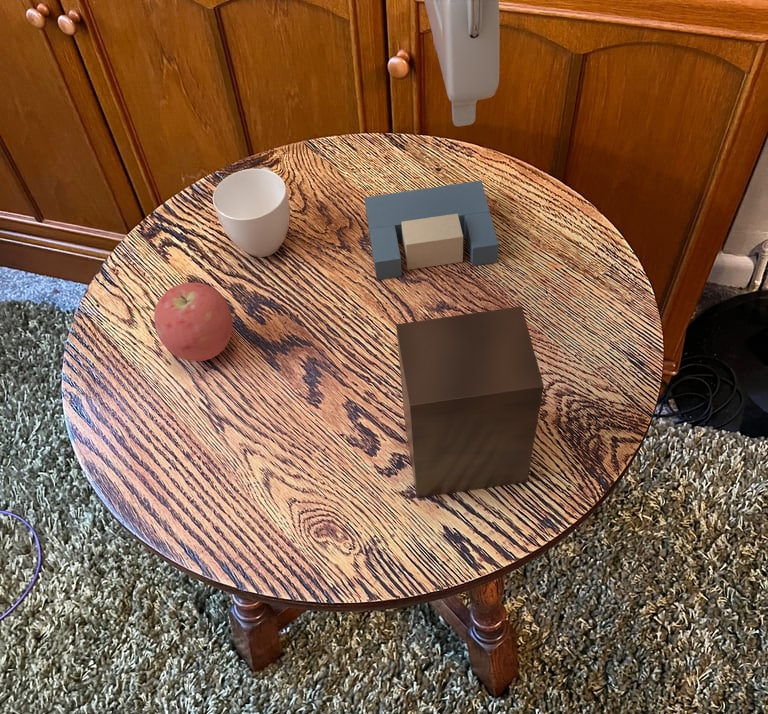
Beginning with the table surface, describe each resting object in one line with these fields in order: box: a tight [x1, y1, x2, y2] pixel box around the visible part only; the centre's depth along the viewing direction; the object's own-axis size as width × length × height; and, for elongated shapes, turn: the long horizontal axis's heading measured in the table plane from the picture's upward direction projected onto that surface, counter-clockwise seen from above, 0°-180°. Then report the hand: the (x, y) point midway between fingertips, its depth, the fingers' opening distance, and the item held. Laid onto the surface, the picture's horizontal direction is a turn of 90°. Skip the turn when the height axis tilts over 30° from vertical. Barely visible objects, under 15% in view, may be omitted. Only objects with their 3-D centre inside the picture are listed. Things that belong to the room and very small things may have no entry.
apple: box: [153, 282, 234, 362], centre depth 76 cm, size 7×7×8 cm
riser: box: [395, 305, 545, 499], centre depth 65 cm, size 10×8×14 cm
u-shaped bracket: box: [363, 179, 500, 281], centre depth 83 cm, size 13×10×2 cm
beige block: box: [401, 214, 464, 271], centre depth 82 cm, size 6×4×4 cm, turn 97°
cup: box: [212, 166, 291, 258], centre depth 83 cm, size 8×10×7 cm
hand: (453, 84), depth 64 cm, fingers open, 8 cm apart
